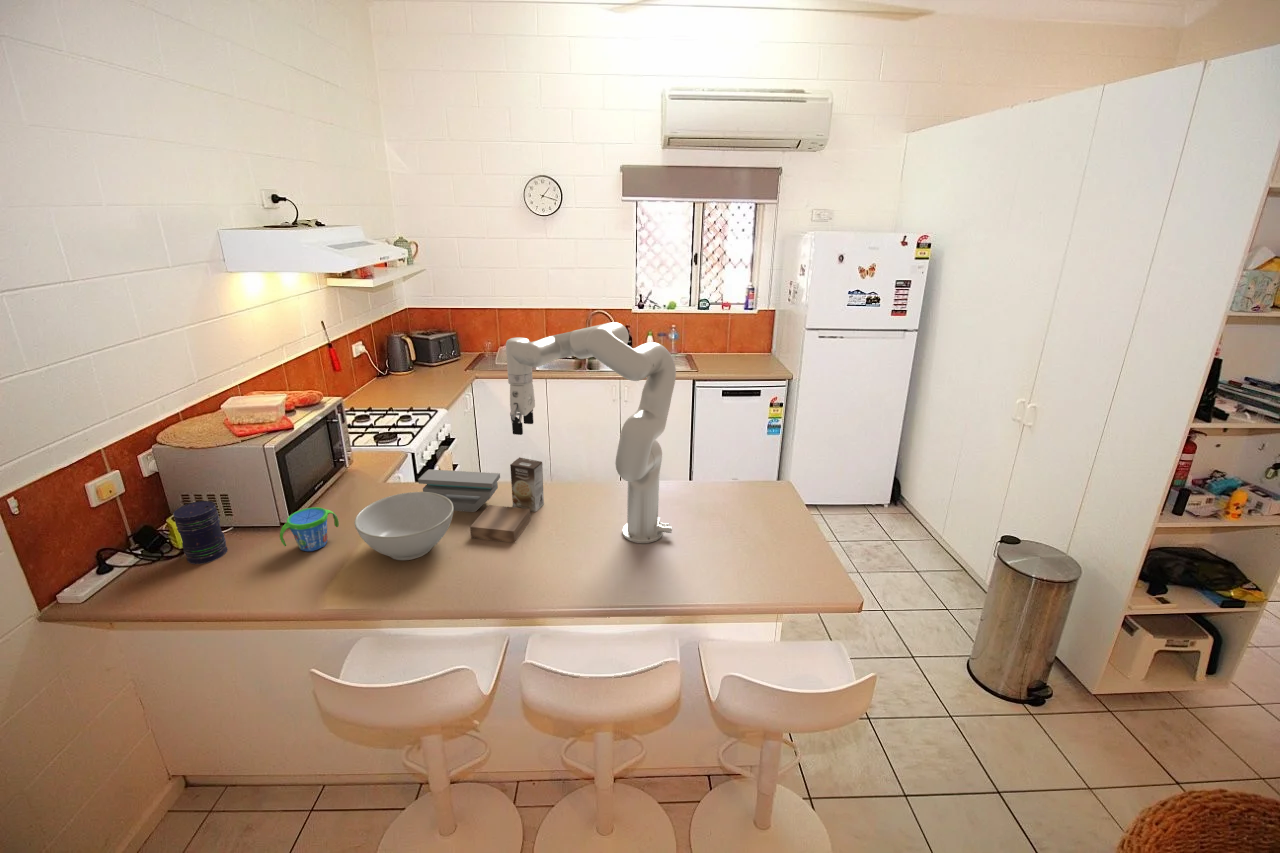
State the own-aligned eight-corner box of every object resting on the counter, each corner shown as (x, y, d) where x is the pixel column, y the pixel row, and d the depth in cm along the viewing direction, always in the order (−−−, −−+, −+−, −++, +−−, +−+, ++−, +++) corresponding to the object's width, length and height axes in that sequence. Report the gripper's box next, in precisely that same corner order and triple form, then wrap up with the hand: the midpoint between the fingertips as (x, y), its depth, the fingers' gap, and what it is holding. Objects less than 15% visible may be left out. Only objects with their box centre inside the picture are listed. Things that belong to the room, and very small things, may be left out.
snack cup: (288, 563, 168) (281, 531, 164) (279, 547, 175) (272, 517, 171) (346, 543, 178) (341, 513, 174) (336, 529, 185) (330, 500, 181)
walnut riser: (530, 519, 192) (530, 509, 190) (514, 542, 179) (513, 531, 178) (489, 515, 194) (488, 504, 193) (471, 538, 181) (470, 526, 180)
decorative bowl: (339, 563, 168) (332, 526, 164) (405, 519, 191) (400, 485, 187) (416, 584, 159) (411, 545, 155) (475, 535, 183) (472, 500, 179)
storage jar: (183, 567, 165) (169, 520, 160) (189, 550, 173) (175, 505, 168) (226, 558, 169) (213, 512, 164) (230, 542, 178) (218, 497, 172)
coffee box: (511, 507, 199) (508, 464, 194) (521, 499, 205) (518, 457, 199) (536, 512, 197) (533, 468, 191) (545, 503, 202) (543, 460, 197)
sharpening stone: (502, 502, 203) (499, 473, 199) (494, 513, 196) (492, 483, 192) (432, 497, 205) (428, 469, 202) (422, 508, 198) (418, 479, 194)
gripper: (521, 386, 176) (525, 439, 182) (540, 371, 192) (543, 420, 198) (498, 384, 177) (501, 437, 183) (518, 369, 193) (521, 419, 199)
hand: (523, 428), depth 191 cm, fingers open, 9 cm apart
